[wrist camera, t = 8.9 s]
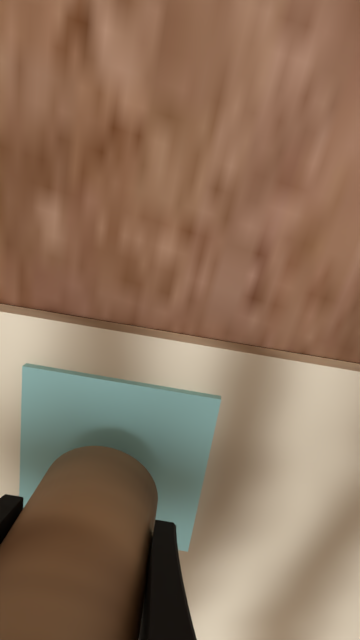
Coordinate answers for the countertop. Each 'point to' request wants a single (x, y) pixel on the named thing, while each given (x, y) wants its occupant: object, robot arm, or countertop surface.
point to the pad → (120, 432)
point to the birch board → (232, 468)
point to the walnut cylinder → (80, 551)
